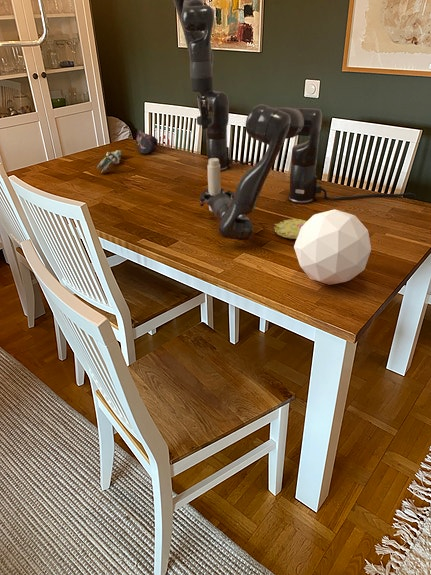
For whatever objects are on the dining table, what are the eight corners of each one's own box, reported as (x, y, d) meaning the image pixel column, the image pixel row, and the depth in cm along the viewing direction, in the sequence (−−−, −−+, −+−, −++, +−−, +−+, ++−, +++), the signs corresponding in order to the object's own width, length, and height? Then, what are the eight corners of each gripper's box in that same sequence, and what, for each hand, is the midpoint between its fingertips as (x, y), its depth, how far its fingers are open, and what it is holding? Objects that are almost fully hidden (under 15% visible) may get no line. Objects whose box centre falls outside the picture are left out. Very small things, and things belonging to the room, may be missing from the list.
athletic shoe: (143, 144, 221) (166, 143, 225) (132, 120, 233) (154, 119, 237) (142, 163, 229) (164, 162, 234) (131, 139, 241) (152, 138, 245)
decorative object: (286, 211, 157) (342, 219, 147) (286, 217, 158) (341, 226, 148) (260, 233, 142) (319, 243, 133) (260, 240, 144) (319, 251, 134)
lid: (213, 121, 161) (212, 115, 160) (210, 125, 157) (209, 119, 155) (199, 121, 162) (198, 115, 161) (195, 125, 158) (195, 119, 157)
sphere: (306, 297, 126) (271, 236, 124) (363, 261, 128) (330, 201, 126) (334, 302, 107) (294, 231, 105) (400, 260, 109) (362, 189, 107)
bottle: (223, 208, 166) (222, 158, 156) (218, 212, 162) (216, 162, 152) (212, 206, 168) (210, 157, 158) (206, 210, 164) (204, 160, 154)
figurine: (101, 154, 197) (119, 141, 223) (91, 167, 200) (110, 152, 227) (114, 165, 199) (130, 151, 225) (103, 178, 203) (121, 162, 229)
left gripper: (189, 72, 156) (193, 122, 166) (191, 79, 144) (195, 132, 154) (211, 71, 156) (213, 120, 166) (213, 77, 145) (216, 131, 154)
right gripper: (244, 195, 149) (231, 179, 163) (202, 200, 147) (193, 183, 161) (243, 216, 153) (231, 198, 167) (203, 220, 151) (194, 202, 165)
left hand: (204, 126), depth 160 cm, fingers closed on lid, 5 cm apart
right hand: (213, 191), depth 164 cm, fingers closed on bottle, 4 cm apart
